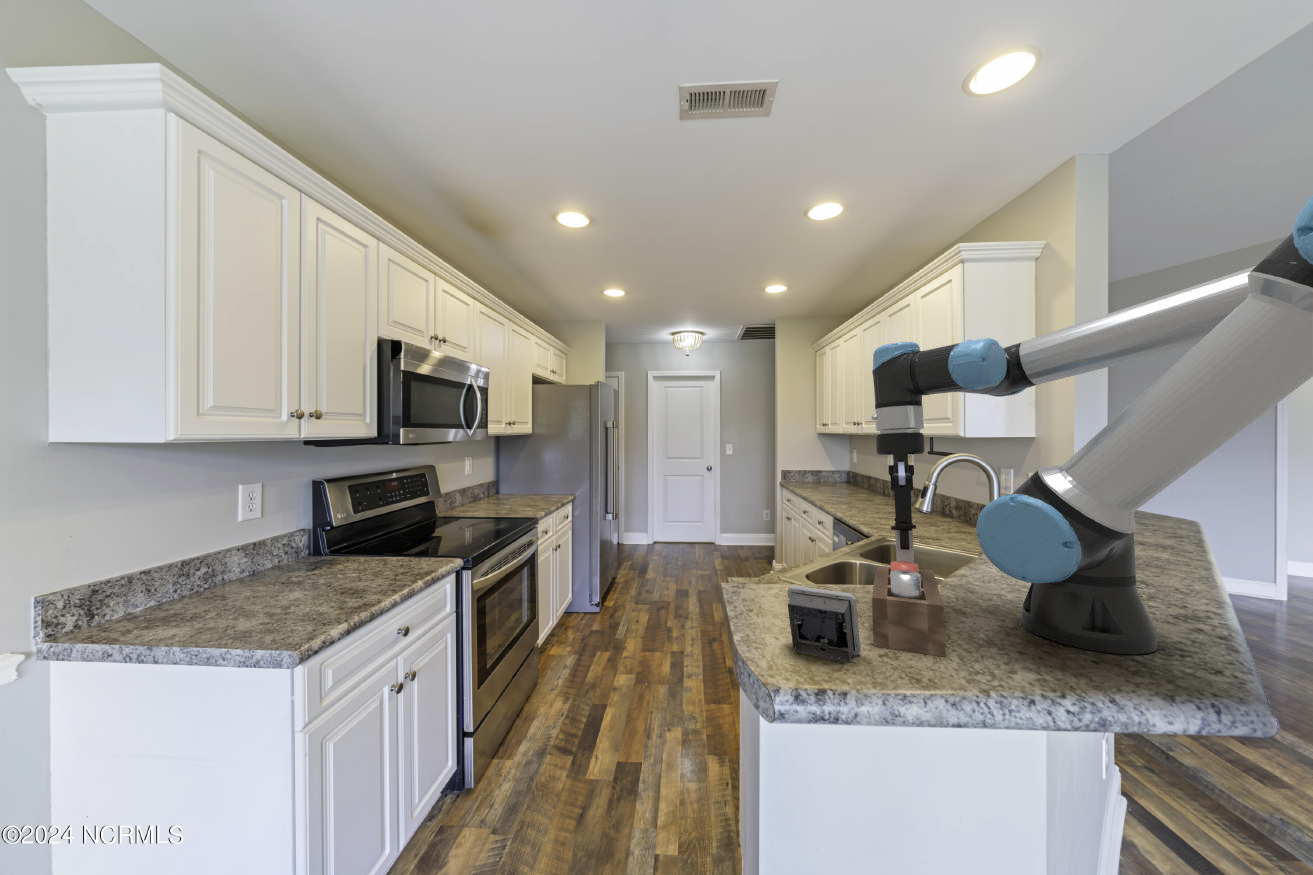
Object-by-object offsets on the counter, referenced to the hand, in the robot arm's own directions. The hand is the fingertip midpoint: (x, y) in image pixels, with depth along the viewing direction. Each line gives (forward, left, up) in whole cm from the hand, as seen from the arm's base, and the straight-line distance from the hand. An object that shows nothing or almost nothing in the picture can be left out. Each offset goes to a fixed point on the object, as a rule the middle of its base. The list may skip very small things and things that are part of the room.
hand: (905, 567), depth 81 cm
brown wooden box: (-4, +5, -8) cm, 10 cm away
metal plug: (-9, +9, -4) cm, 13 cm away
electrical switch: (-8, +24, -8) cm, 26 cm away
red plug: (-4, +5, -4) cm, 8 cm away
